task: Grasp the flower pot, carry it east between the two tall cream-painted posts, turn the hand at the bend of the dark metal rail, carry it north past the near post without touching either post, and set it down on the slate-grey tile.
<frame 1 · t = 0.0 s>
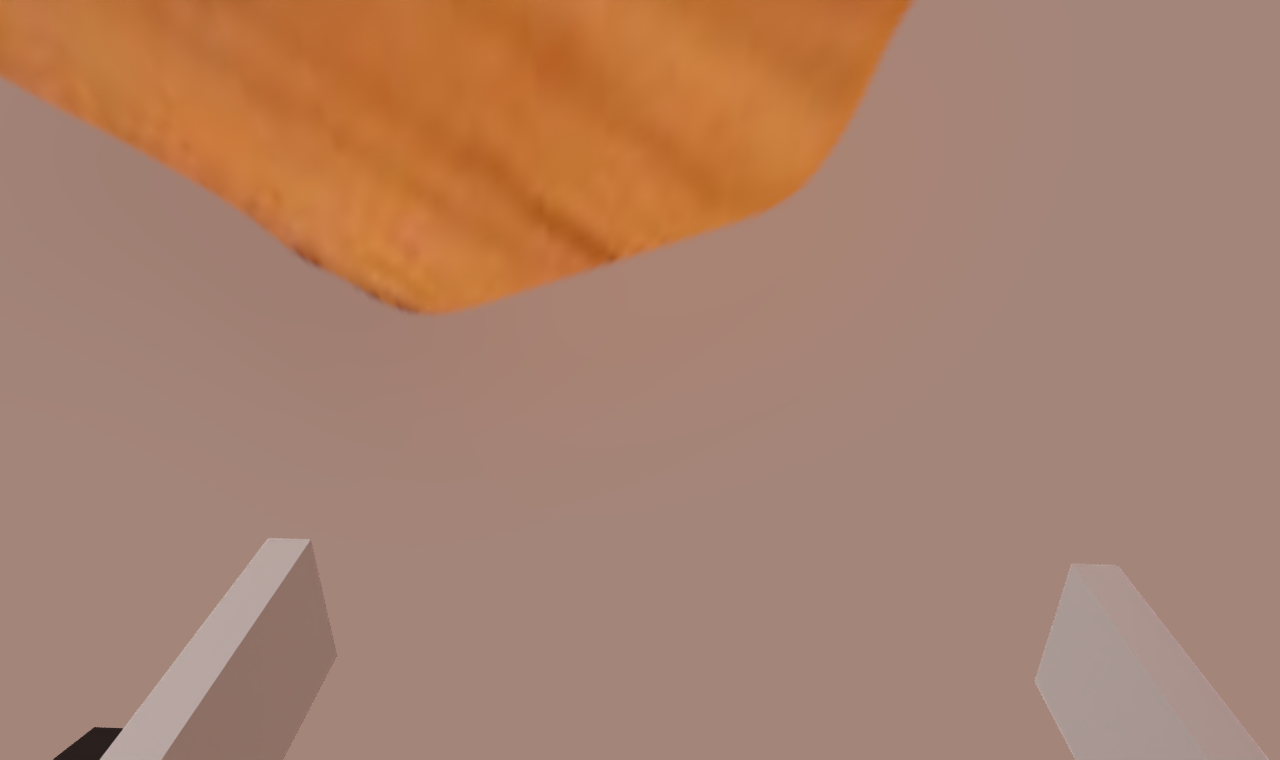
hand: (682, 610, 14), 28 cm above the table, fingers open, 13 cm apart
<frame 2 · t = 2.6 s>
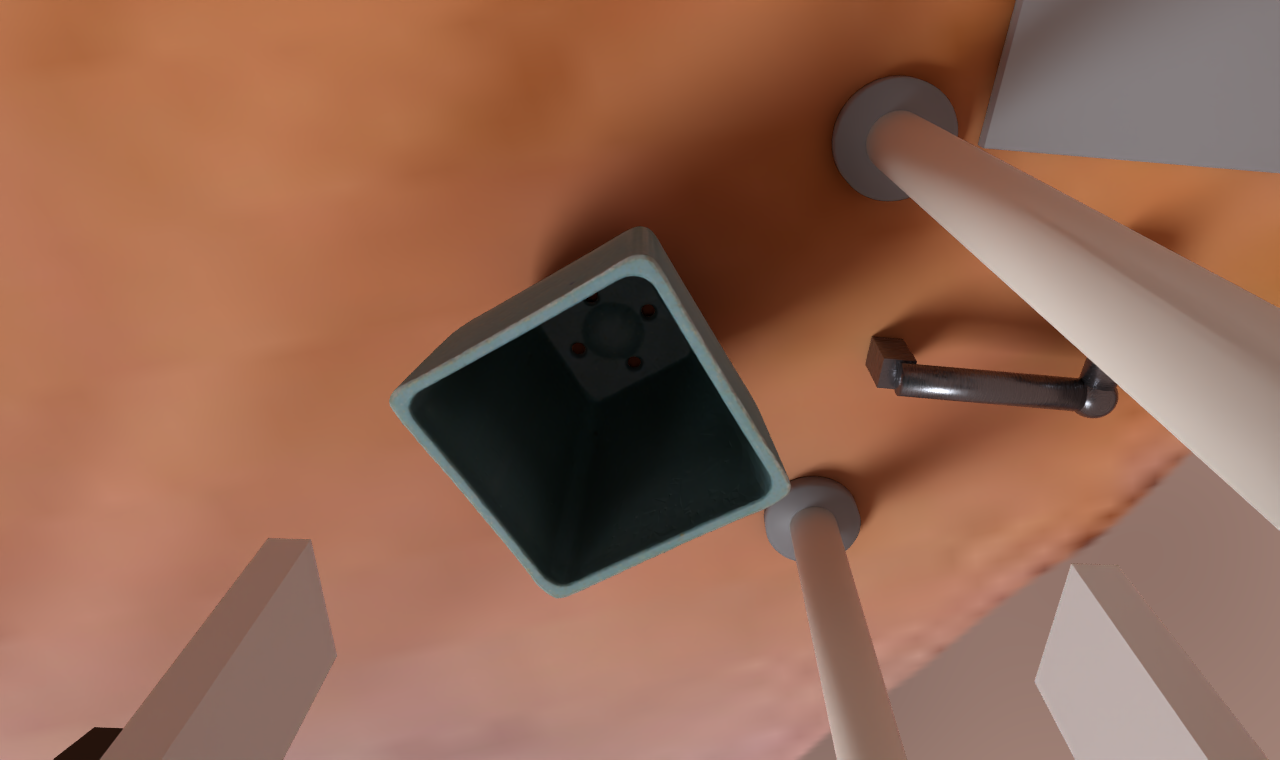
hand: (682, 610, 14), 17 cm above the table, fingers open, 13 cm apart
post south: (810, 514, 34), on the table
flower pot: (616, 326, 31), on the table
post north: (890, 137, 27), on the table
bent rail: (884, 351, 30), on the table
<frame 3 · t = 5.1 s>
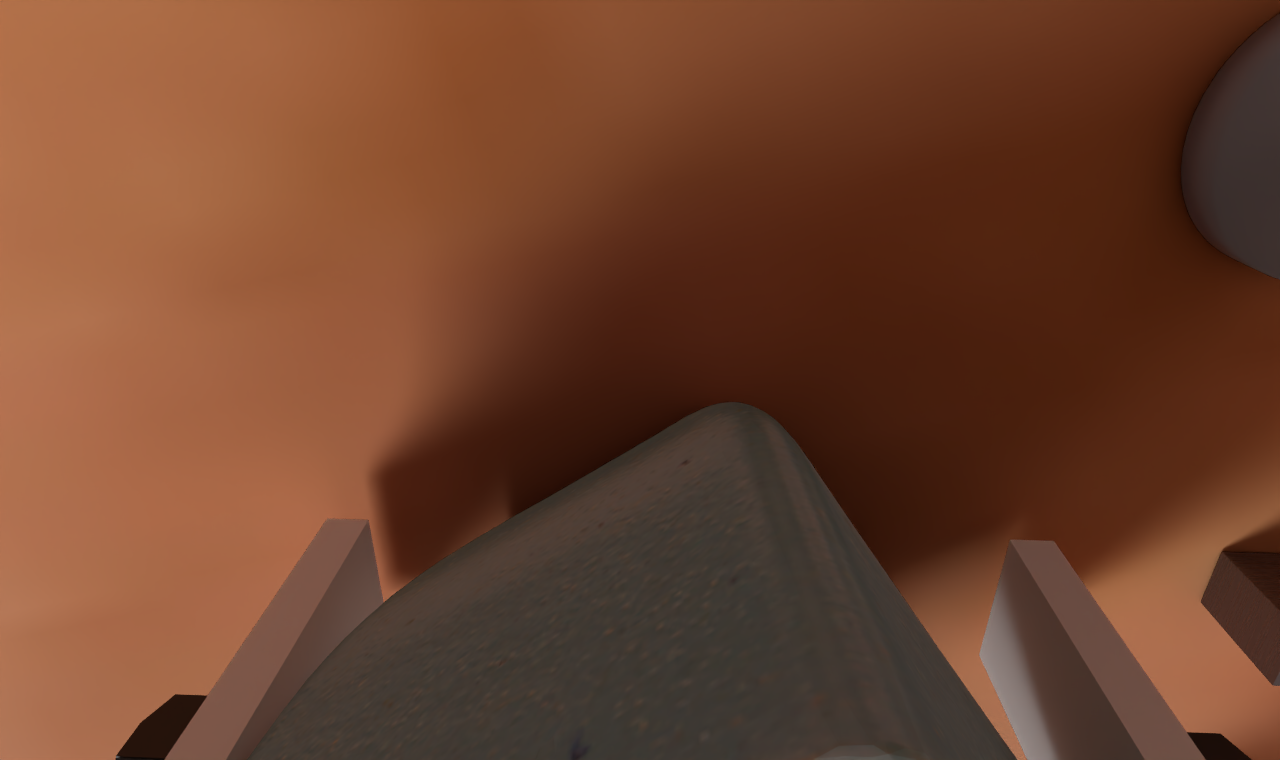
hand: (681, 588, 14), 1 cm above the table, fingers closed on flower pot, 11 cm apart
flower pot: (679, 552, 15), on the table, touching gripper
bent rail: (1244, 578, 15), on the table
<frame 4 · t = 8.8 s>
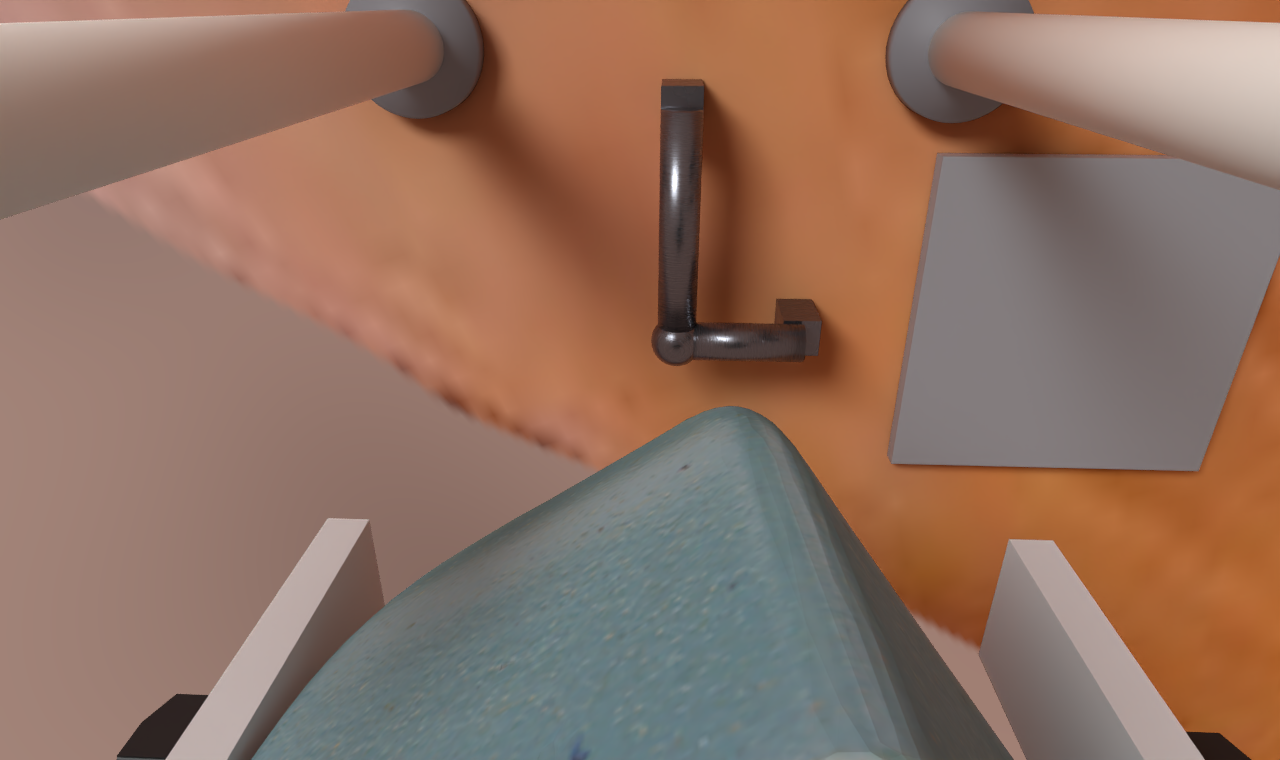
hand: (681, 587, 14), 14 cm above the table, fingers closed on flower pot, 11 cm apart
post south: (418, 45, 24), on the table
flower pot: (679, 555, 15), point 13 cm above the table, touching gripper
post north: (954, 48, 23), on the table
bent rail: (681, 100, 24), on the table
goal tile: (1073, 320, 26), on the table
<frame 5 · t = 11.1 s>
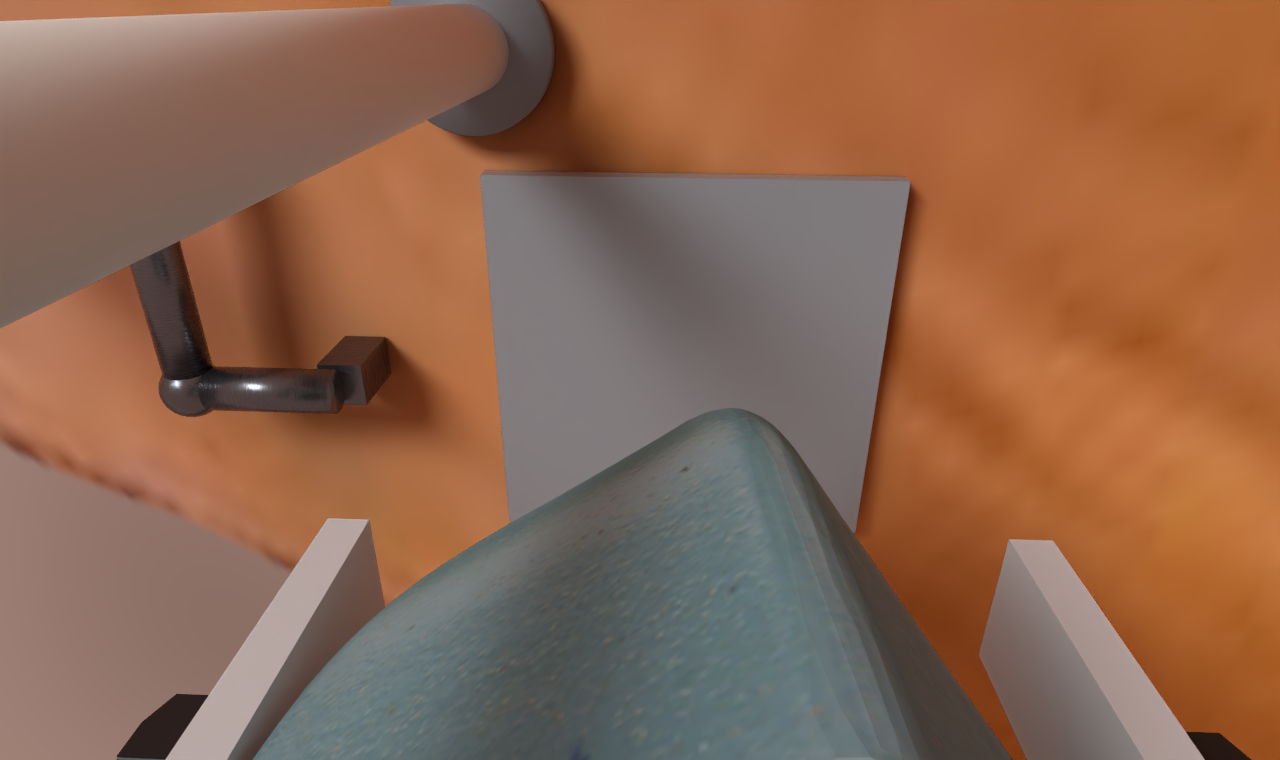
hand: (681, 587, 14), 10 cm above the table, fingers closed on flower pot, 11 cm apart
flower pot: (679, 557, 15), point 9 cm above the table, touching gripper
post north: (475, 47, 19), on the table
bent rail: (177, 107, 20), on the table
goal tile: (686, 363, 23), on the table
when the fingers open (3 cm above the table, at t = 12.8 s): flower pot drops 2 cm, resting on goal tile.
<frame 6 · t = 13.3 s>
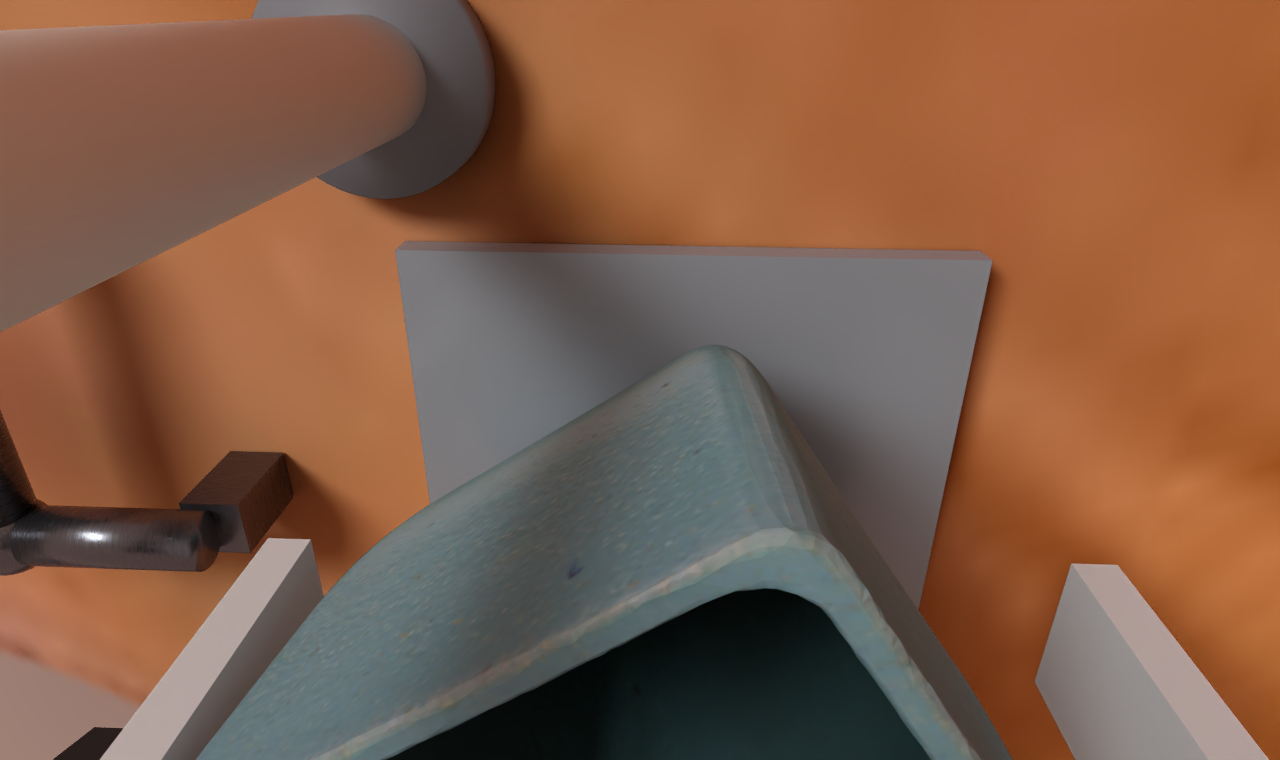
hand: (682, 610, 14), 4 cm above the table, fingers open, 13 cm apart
flower pot: (665, 494, 17), resting on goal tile
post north: (383, 75, 14), on the table
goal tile: (681, 486, 17), on the table
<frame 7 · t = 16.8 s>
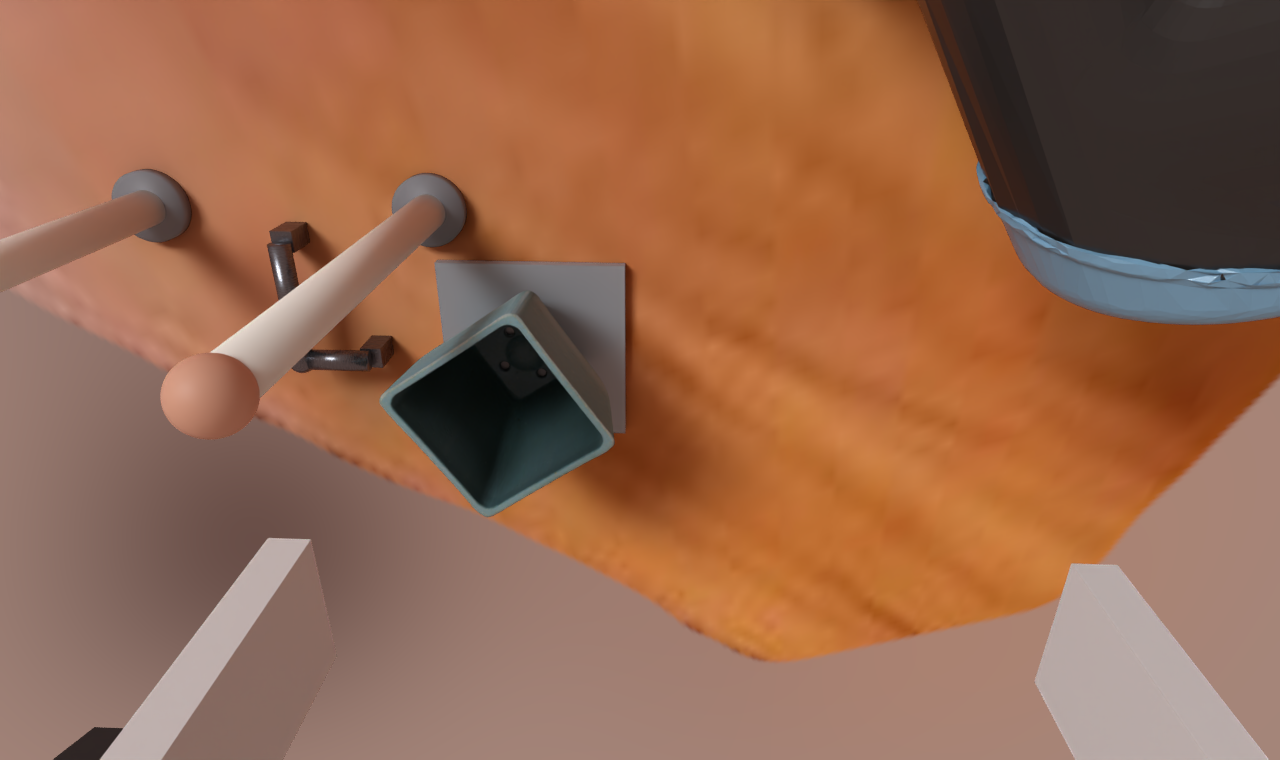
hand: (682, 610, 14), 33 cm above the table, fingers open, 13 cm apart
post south: (156, 204, 45), on the table
flower pot: (528, 349, 47), resting on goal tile
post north: (431, 208, 44), on the table
bent rail: (297, 232, 45), on the table
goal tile: (536, 348, 48), on the table
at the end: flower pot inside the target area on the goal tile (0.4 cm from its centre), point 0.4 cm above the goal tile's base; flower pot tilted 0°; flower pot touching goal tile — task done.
